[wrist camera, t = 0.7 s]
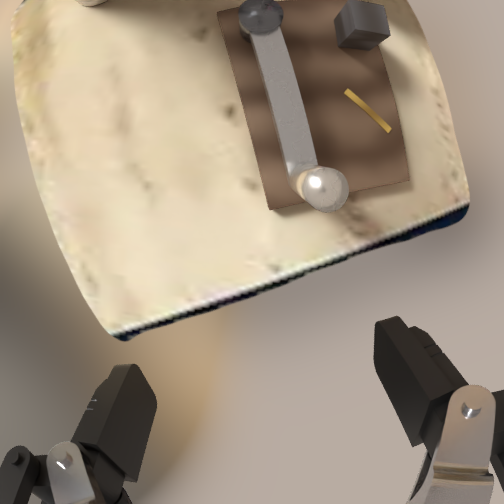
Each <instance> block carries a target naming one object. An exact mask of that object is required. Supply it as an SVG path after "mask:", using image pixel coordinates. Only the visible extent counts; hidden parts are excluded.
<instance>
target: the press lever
mask: <svg viewBox="0 0 504 504" xmlns="http://www.w3.org/2000/svg"><path fill="white" fill-rule="evenodd" d="M238 15H239V31H240V34H241V36H242V38H243V39H244V40H246V41H247V42H249V43H251V44H252V47H253V50H254V53H255V57H256V60H257V64H258V67H259V70H260V74H261V77H262V81H263V84H264V88H265V92H266V95H267V99H268V103H269V106H270V110H271V114H272V118H273V122H274V125H275V129H276V133H277V137H278V141H279V145H280V149H281V153H282V158H283V162H284V166H285V170H286V175H287V179H288V183H289V186H290V187H291V188H292V189H293V190H294V191H295V192H296V193H297V194H298V195H299V196H301V197H302V198H303V199H304V200H305V201H307V202H308V203H309V204H310V205H311V206H313V207H314V208H315V209H317V210H319V211H321V212H333V211H336V210H338V209H339V208H341V207H342V206H343V205H344V203H345V202H346V200H347V198H348V194H349V186H348V182H347V180H346V178H345V176H344V175H343V174H342V173H341V172H339V171H338V170H336V169H333V168H328V167H323V166H318V163H317V159H316V154H315V150H314V146H313V141H312V137H311V133H310V129H309V125H308V121H307V117H306V113H305V109H304V105H303V101H302V98H301V94H300V90H299V87H298V83H297V80H296V76H295V73H294V70H293V66H292V63H291V60H290V57H289V53H288V50H287V47H286V44H285V41H284V38H283V35H282V32H281V29H280V27H281V23H282V20H283V16H284V13H283V9H282V7H281V6H280V5H279V4H278V3H277V2H276V1H274V0H247V1H245V2H244V3H243V4H242V5H241V6H240V8H239V12H238Z"/></svg>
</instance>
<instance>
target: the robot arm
mask: <svg viewBox="0 0 504 504" xmlns="http://www.w3.org/2000/svg"><path fill="white" fill-rule="evenodd" d="M75 1H77V2H78V3H80V4H81V5H83V6H94V5H98V4H101V3H103V2H105V1H107V0H75ZM374 365H375V369H376V372H377V375H378V377H379V379H380V381H381V383H382V384H383V387H384V389H385V391H386V393H387V394H388V397H389V399H390V401H391V403H392V405H393V407H394V409H395V411H396V413H397V415H398V417H399V419H400V421H401V423H402V425H403V428H404V430H405V432H406V434H407V436H408V438H409V440H410V443H411V445H412V447H414V446H417V445H419V444H421V443H424V445H425V446H426V449H427V451H426V453H425V456H424V459H423V462H422V465H421V468H420V471H419V473H418V476H417V479H416V481H415V484H414V486H413V489H412V491H411V494H410V496H409V498H408V501H407V503H406V504H489V502H490V498H491V495H492V490H493V485H494V477H493V474H490V473H489V472H488V467H489V461H490V462H491V464H492V466H493V468H494V470H495V473H496V475H497V477H498V479H499V482H500V484H501V487H502V489H503V491H504V390H501V391H497V392H492V393H491V392H490V391H489V390H488V389H486V388H484V387H482V386H479V385H469V384H468V383H467V382H466V381H465V379H464V378H463V377H462V375H461V374H460V373H459V371H458V370H457V369H456V368H455V366H454V365H453V364H452V363H451V361H450V360H449V359H448V357H447V356H446V355H445V354H444V353H442V350H441V349H440V348H439V346H438V345H436V343H435V342H434V340H433V339H432V338H431V337H430V336H429V334H428V333H426V332H425V331H423V330H421V329H419V328H418V327H416V326H413V327H410V328H408V327H407V326H406V324H405V323H404V322H403V321H402V319H401V318H400V317H398V316H394V317H391V318H388V319H385V320H382V321H378V322H376V324H375V334H374ZM91 400H92V401H90V402H89V404H88V406H87V410H86V411H85V413H84V414H83V417H82V419H81V421H80V423H79V425H78V427H77V429H76V431H75V433H74V435H73V437H72V440H71V441H70V442H62V443H59V444H57V445H56V446H54V447H53V448H52V449H51V450H50V452H49V454H48V455H39V456H34V455H33V454H32V453H31V452H30V451H29V450H28V449H27V448H26V447H24V446H16V447H14V448H12V449H11V450H10V451H9V452H8V453H7V454H6V456H5V458H4V461H3V463H2V465H1V467H0V504H28V501H29V498H30V495H31V492H32V493H33V494H34V495H36V496H37V497H39V498H40V499H41V500H42V502H41V504H133V503H132V501H131V500H130V498H129V496H128V494H127V492H126V490H125V489H124V488H123V487H122V486H123V482H124V481H130V482H137V480H138V475H139V472H140V468H141V463H142V460H143V456H144V453H145V449H146V445H147V442H148V438H149V434H150V431H151V427H152V423H153V420H154V416H155V413H156V409H157V400H156V396H155V394H154V392H153V390H152V389H151V387H150V385H149V384H148V382H147V380H146V378H145V377H144V375H143V373H142V371H141V370H140V368H139V367H138V366H137V365H136V364H124V365H116V366H114V368H113V369H112V371H111V373H110V375H109V377H108V379H106V380H105V381H104V382H103V383H102V384H101V385H100V386H99V387H98V388H97V389H96V391H95V393H94V395H93V397H92V399H91Z"/></svg>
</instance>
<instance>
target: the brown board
mask: <svg viewBox="0 0 504 504" xmlns="http://www.w3.org/2000/svg"><path fill="white" fill-rule="evenodd" d="M276 2H277V3H278V4H279V5H280V6H281V7H282V9H283V13H284V16H283V20H282V23H281V27H280V29H281V32H282V35H283V38H284V41H285V44H286V47H287V50H288V53H289V57H290V60H291V63H292V66H293V70H294V73H295V76H296V80H297V83H298V87H299V90H300V94H301V98H302V101H303V105H304V109H305V113H306V117H307V121H308V125H309V129H310V133H311V137H312V141H313V146H314V150H315V154H316V159H317V163H318V166H323V167H328V168H333V169H336V170H338V171H339V172H341V173H342V174H343V175H344V176H345V178H346V180H347V182H348V186H349V192H354V191H359V190H363V189H368V188H373V187H378V186H383V185H388V184H394V183H399V182H404V181H409V173H408V166H407V159H406V153H405V147H404V142H403V136H402V131H401V126H400V122H399V117H398V113H397V108H396V104H395V100H394V96H393V92H392V89H391V85H390V81H389V78H388V74H387V71H386V68H385V64H384V61H383V58H382V55H381V52H380V49H379V46H378V44H379V43H381V42H382V41H384V40H385V39H386V38H388V37H389V36H391V35H390V30H389V25H388V21H387V17H386V12H385V8H384V6H382V5H378V4H373V3H369V2H363V1H360V0H285V1H276ZM239 8H240V7H238V8H233V9H228V10H224V11H219V12H217V16H218V20H219V23H220V27H221V30H222V33H223V37H224V40H225V44H226V47H227V51H228V54H229V58H230V61H231V65H232V68H233V72H234V76H235V79H236V83H237V87H238V90H239V94H240V98H241V101H242V105H243V109H244V113H245V116H246V120H247V124H248V128H249V132H250V135H251V139H252V143H253V147H254V151H255V155H256V159H257V163H258V167H259V171H260V175H261V179H262V183H263V187H264V191H265V195H266V199H267V204H268V207H269V210H273V209H277V208H282V207H286V206H290V205H294V204H299V203H303V202H307V201H305V200H304V199H303V198H302V197H301V196H299V195H298V194H297V193H296V192H295V191H294V190H293V189H292V188H291V187H290V186H289V183H288V179H287V175H286V170H285V166H284V162H283V158H282V153H281V149H280V145H279V141H278V137H277V133H276V129H275V125H274V122H273V118H272V114H271V110H270V106H269V103H268V99H267V95H266V92H265V88H264V84H263V81H262V77H261V74H260V70H259V67H258V64H257V60H256V57H255V53H254V50H253V47H252V44H251V43H249V42H247V41H246V40H244V39H243V38H242V36H241V34H240V31H239V15H238V12H239Z"/></svg>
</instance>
